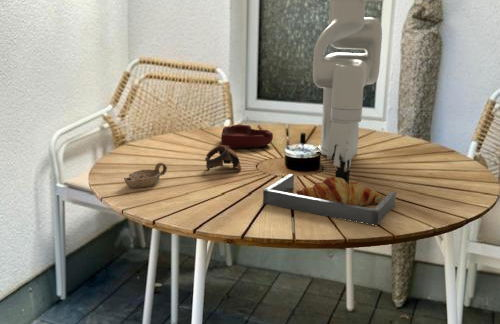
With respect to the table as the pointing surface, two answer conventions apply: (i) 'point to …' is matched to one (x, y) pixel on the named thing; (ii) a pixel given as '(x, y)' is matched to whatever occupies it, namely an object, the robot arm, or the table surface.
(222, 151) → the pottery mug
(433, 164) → the table surface
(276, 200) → the bent metal bracket
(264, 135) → the ashtray
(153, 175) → the oil lamp
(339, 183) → the croissant
